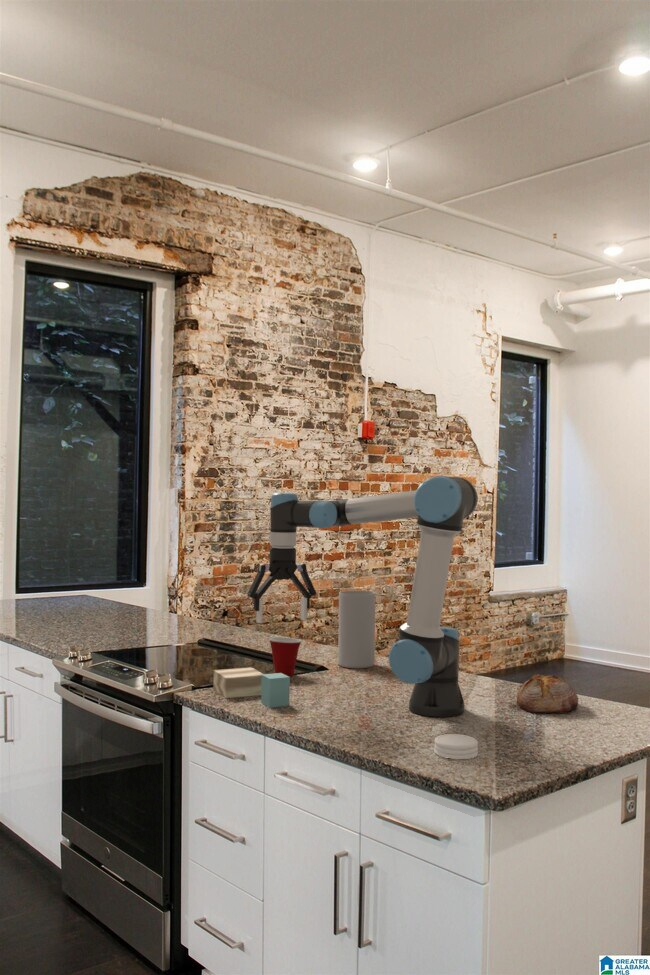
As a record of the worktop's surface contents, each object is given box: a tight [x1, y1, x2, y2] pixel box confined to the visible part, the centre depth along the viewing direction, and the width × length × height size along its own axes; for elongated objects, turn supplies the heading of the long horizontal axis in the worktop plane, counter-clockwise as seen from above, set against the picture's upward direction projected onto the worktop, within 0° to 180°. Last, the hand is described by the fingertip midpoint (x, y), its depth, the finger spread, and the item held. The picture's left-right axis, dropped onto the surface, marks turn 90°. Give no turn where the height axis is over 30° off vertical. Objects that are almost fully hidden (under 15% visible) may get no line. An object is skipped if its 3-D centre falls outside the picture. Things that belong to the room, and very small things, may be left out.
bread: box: [516, 673, 579, 714], centre depth 247 cm, size 16×20×10 cm
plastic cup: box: [268, 636, 303, 678], centre depth 284 cm, size 11×11×12 cm
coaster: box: [433, 733, 479, 760], centre depth 202 cm, size 10×10×4 cm
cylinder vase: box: [337, 590, 376, 669], centre depth 302 cm, size 12×12×25 cm
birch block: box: [212, 666, 264, 699], centre depth 260 cm, size 12×12×6 cm
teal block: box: [260, 672, 291, 709], centre depth 246 cm, size 6×6×8 cm
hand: (281, 621), depth 250 cm, fingers open, 13 cm apart
